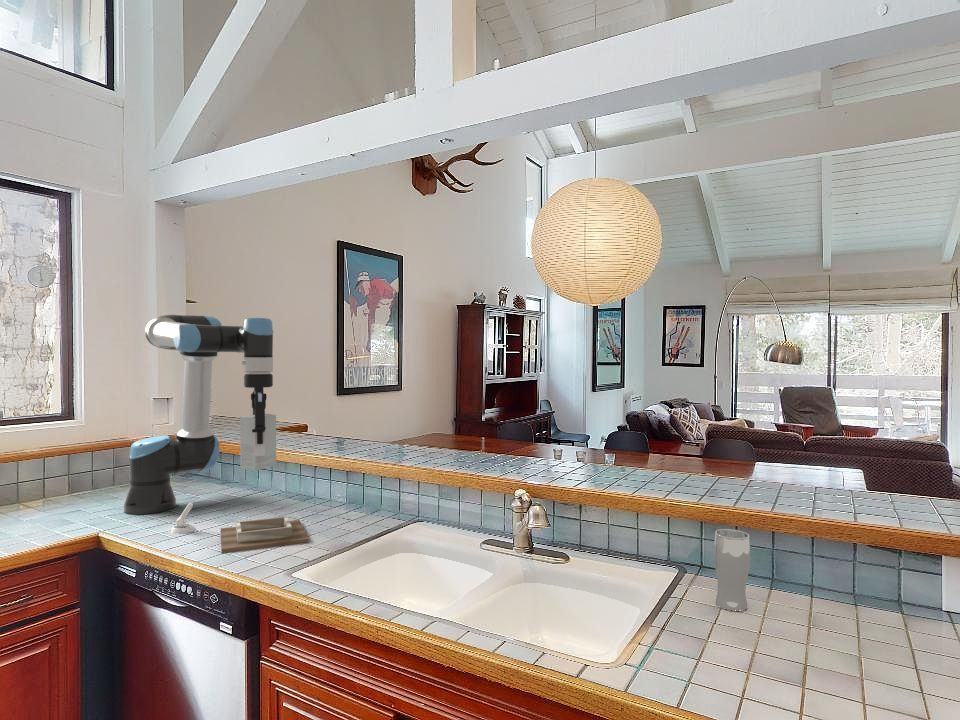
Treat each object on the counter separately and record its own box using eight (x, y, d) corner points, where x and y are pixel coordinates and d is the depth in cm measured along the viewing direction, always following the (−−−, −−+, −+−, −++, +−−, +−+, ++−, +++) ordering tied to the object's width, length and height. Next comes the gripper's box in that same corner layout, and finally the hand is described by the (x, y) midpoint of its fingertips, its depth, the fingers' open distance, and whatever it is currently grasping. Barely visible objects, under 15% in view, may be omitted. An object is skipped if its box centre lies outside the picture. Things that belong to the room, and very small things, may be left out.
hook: (201, 519, 170) (183, 508, 168) (183, 545, 171) (165, 535, 170) (209, 508, 176) (191, 498, 174) (191, 534, 177) (174, 524, 176)
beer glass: (707, 599, 126) (708, 528, 126) (738, 598, 126) (739, 528, 126) (723, 613, 119) (724, 539, 119) (756, 612, 119) (757, 538, 119)
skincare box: (261, 464, 171) (261, 413, 171) (277, 465, 169) (277, 413, 169) (238, 469, 163) (238, 415, 163) (255, 471, 161) (255, 416, 161)
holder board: (220, 531, 172) (220, 519, 172) (299, 523, 181) (299, 511, 181) (221, 552, 153) (221, 539, 153) (308, 542, 163) (308, 529, 162)
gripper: (243, 372, 175) (243, 447, 175) (245, 374, 154) (245, 460, 154) (269, 372, 178) (270, 446, 178) (275, 374, 157) (275, 458, 157)
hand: (258, 452), depth 166 cm, fingers closed on skincare box, 10 cm apart
